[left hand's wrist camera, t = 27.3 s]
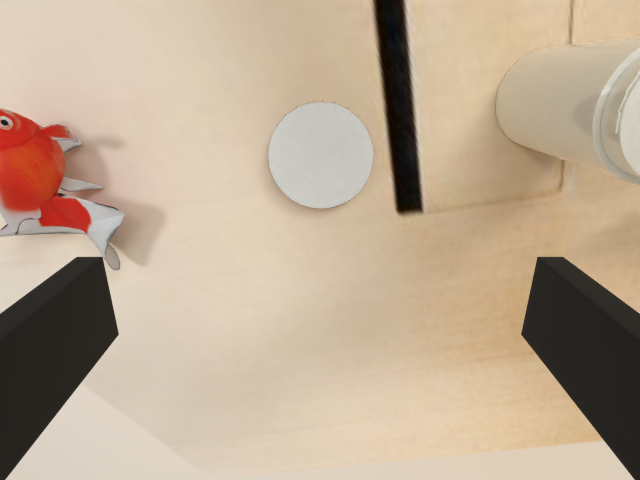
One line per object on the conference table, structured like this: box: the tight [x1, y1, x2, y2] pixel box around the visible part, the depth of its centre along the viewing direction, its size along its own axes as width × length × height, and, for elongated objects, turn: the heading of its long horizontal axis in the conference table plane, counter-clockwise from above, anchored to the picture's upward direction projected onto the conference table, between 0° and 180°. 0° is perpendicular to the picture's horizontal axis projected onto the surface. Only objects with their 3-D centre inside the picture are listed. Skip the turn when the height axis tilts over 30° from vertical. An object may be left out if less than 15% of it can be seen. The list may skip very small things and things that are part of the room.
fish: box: [0, 108, 125, 270], centre depth 35 cm, size 11×16×10 cm
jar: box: [496, 35, 640, 184], centre depth 28 cm, size 8×8×16 cm
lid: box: [268, 101, 374, 208], centre depth 37 cm, size 9×9×2 cm
